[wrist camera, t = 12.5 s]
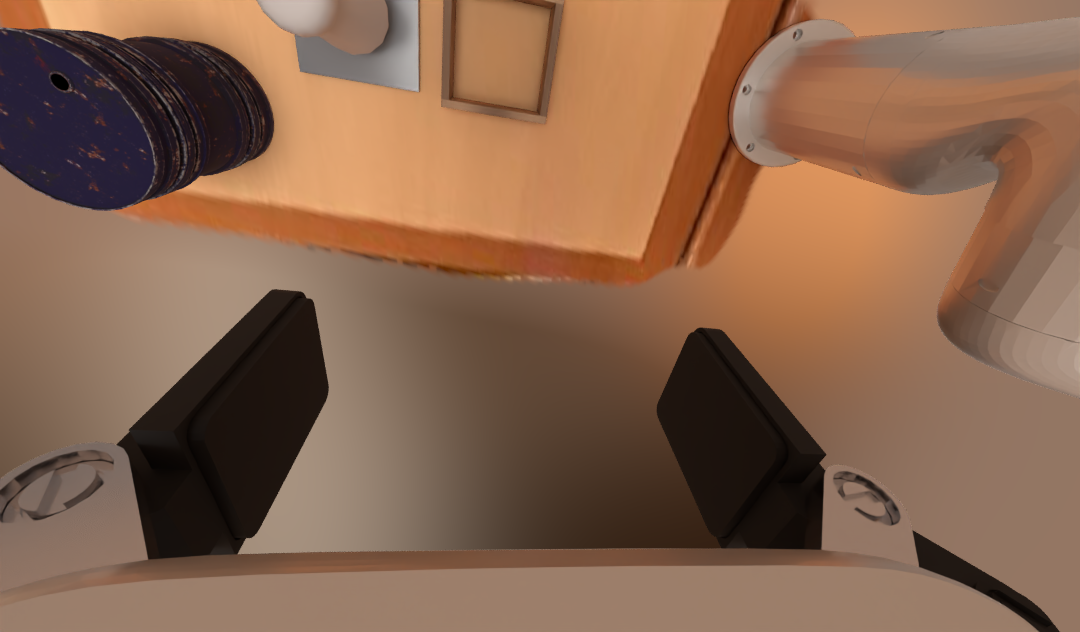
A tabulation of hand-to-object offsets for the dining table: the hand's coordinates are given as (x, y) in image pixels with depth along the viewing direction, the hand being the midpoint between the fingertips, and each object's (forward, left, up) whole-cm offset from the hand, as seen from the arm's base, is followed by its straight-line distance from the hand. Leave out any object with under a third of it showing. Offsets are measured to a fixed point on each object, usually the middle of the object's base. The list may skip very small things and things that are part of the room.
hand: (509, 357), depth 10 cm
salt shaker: (+13, -8, -34) cm, 37 cm away
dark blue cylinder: (+26, +1, -34) cm, 43 cm away
